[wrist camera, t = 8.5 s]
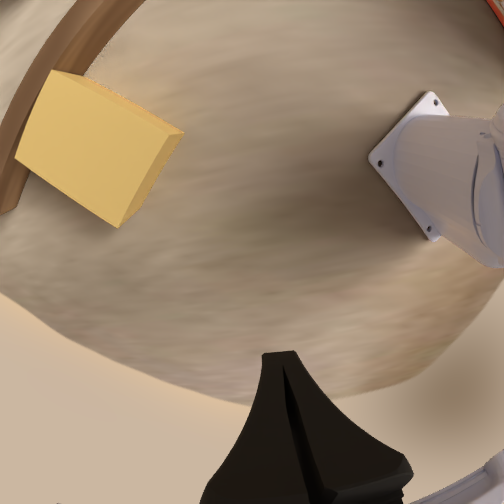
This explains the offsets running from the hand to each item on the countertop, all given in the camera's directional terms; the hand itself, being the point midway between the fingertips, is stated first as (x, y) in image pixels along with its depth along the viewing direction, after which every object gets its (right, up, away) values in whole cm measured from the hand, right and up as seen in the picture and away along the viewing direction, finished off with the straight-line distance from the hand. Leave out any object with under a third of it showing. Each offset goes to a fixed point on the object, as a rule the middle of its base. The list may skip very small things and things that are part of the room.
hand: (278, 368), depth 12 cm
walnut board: (-14, +18, +3) cm, 23 cm away
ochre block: (-11, +13, +6) cm, 18 cm away
